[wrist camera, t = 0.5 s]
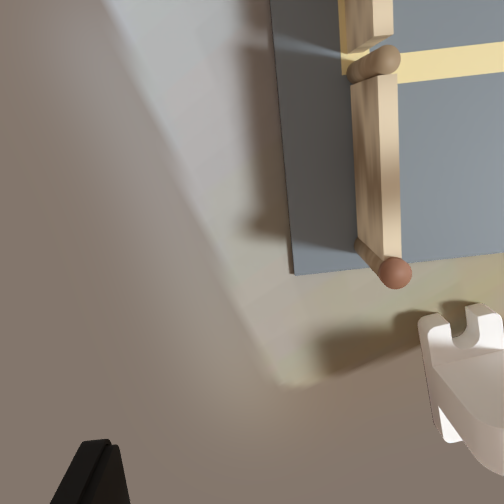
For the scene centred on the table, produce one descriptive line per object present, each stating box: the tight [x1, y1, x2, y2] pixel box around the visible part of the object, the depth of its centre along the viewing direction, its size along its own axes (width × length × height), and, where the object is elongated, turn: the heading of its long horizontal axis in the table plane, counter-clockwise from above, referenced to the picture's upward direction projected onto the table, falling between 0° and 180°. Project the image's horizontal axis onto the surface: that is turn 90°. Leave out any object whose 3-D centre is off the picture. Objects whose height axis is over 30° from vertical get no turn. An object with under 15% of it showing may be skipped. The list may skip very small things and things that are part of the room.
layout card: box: [270, 0, 504, 276], centre depth 30 cm, size 25×18×1 cm
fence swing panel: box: [346, 45, 412, 289], centre depth 27 cm, size 13×2×7 cm, turn 6°
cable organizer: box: [418, 303, 504, 476], centre depth 31 cm, size 5×10×10 cm, turn 14°
